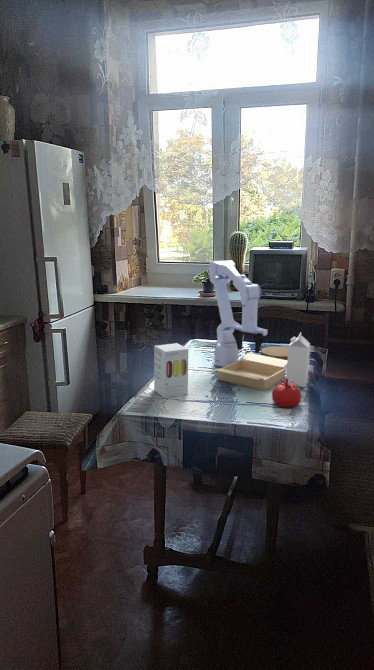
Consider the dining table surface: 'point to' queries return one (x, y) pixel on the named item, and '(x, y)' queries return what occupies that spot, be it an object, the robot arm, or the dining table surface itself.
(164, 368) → the supplement box
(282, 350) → the wood log slice
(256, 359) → the back flap
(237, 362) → the carton
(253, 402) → the dining table surface
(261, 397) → the dining table surface
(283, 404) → the pomegranate
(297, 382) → the milk carton
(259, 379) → the front flap
